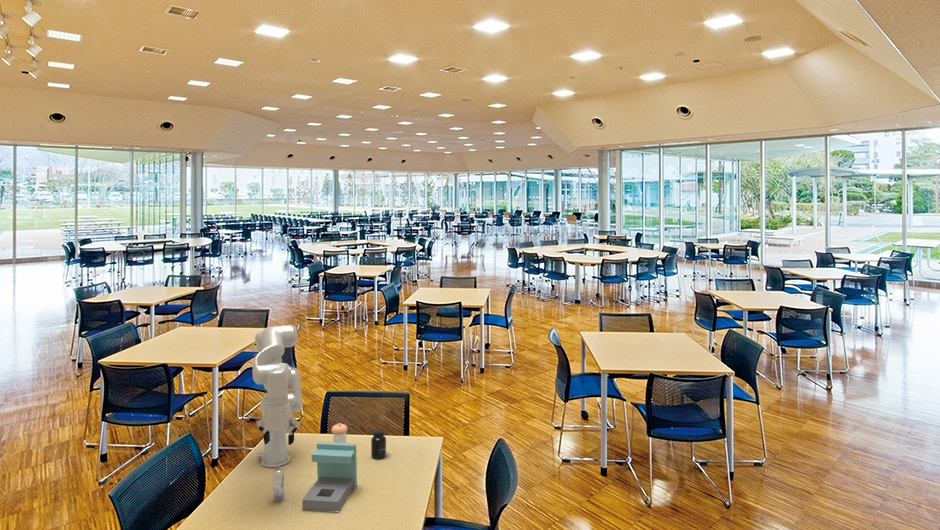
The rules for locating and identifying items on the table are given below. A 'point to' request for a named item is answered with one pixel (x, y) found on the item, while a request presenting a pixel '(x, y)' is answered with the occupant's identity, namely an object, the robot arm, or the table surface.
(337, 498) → the socket stand
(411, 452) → the table surface
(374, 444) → the supplement bottle
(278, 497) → the peg
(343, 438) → the salt shaker
